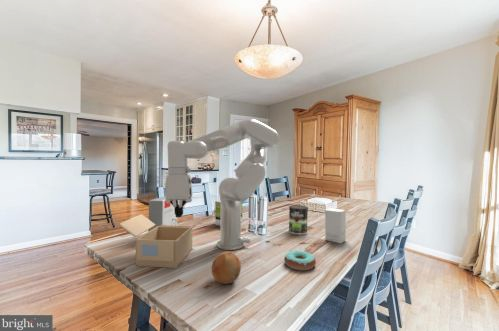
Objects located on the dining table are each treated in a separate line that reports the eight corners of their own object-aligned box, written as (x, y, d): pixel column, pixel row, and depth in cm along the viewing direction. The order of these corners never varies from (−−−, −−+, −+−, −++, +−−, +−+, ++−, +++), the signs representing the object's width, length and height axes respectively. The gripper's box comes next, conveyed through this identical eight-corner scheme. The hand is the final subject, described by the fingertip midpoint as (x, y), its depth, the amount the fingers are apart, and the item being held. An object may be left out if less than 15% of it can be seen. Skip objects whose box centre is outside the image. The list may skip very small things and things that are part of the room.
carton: (192, 248, 109) (193, 226, 109) (175, 269, 90) (175, 241, 89) (158, 247, 111) (158, 224, 110) (134, 266, 91) (134, 239, 91)
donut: (293, 256, 103) (293, 246, 103) (320, 264, 96) (321, 254, 96) (278, 265, 94) (278, 255, 94) (307, 275, 86) (307, 264, 86)
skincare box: (345, 240, 122) (346, 210, 122) (340, 244, 118) (341, 212, 117) (329, 236, 128) (330, 207, 128) (324, 240, 123) (324, 209, 123)
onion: (222, 272, 88) (223, 244, 87) (246, 279, 83) (246, 250, 82) (204, 284, 79) (205, 254, 79) (230, 293, 74) (230, 260, 74)
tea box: (230, 219, 161) (230, 197, 160) (242, 222, 155) (243, 199, 154) (214, 224, 149) (214, 200, 148) (227, 227, 143) (227, 202, 142)
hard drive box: (162, 242, 117) (162, 201, 116) (147, 241, 118) (147, 200, 118) (177, 232, 132) (177, 196, 131) (165, 231, 134) (164, 195, 133)
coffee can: (305, 235, 130) (306, 209, 129) (286, 233, 133) (287, 207, 133) (308, 230, 139) (309, 205, 139) (290, 228, 143) (291, 204, 142)
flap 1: (155, 224, 109) (141, 213, 109) (135, 236, 93) (119, 223, 93) (155, 225, 109) (140, 214, 109) (135, 237, 93) (118, 224, 93)
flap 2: (193, 226, 107) (206, 215, 107) (179, 239, 91) (195, 225, 91) (192, 226, 107) (206, 214, 107) (179, 238, 91) (194, 224, 91)
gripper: (198, 171, 102) (199, 214, 103) (164, 171, 103) (165, 214, 104) (193, 172, 94) (194, 219, 95) (155, 172, 96) (157, 218, 97)
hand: (179, 216), depth 100 cm, fingers closed
